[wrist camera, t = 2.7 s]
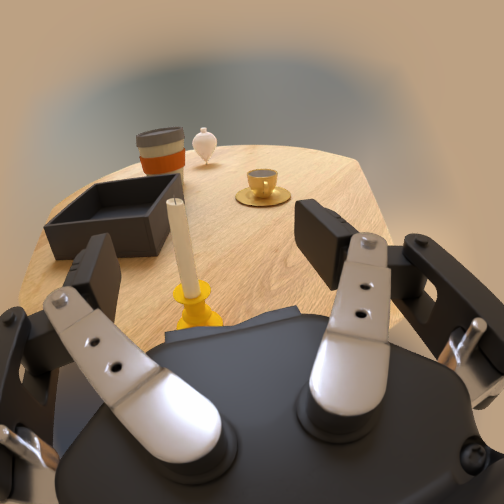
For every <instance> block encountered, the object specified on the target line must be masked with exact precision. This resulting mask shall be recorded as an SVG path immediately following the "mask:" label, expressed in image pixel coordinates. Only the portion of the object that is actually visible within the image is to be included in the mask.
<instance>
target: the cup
mask: <svg viewBox="0 0 504 504" xmlns="http://www.w3.org/2000/svg"><path fill="white" fill-rule="evenodd" d="M277 174H278V173H277V171H275V170H271V169H256V170H252V171H249V172H248V173H247V178H248V183H249V186H250V187H248V188H245V189H243V190H241V191H239V192H238V193H237V194H236V196H235V197H236V199H237V200H238V201H239V202H241V203H244V204H248V205H256V206H266V205H274V204H279V203H282V202H285V201H286V200H288V199H289V198H290V196H291V194H290V192H289V191H287V190H286V189H284V188H281V187H276V183H277Z"/></svg>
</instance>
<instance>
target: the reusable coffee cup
mask: <svg viewBox="0 0 504 504" xmlns="http://www.w3.org/2000/svg"><path fill="white" fill-rule="evenodd" d="M184 138H185V136H184V132H183V127H168V128H161V129H155V130H151V131H147V132H143V133H140V134H138V135H137V136H136V143H137V147H138V149H139V152H140V155H141V156H140V161H141V164H142V168H143V171H144V173H145V174H146V175H147V176H155V175H164V174H174V173H180V174H181V181H182V185H183V167H184V166H185V148H184V147H183V146H184Z"/></svg>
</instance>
